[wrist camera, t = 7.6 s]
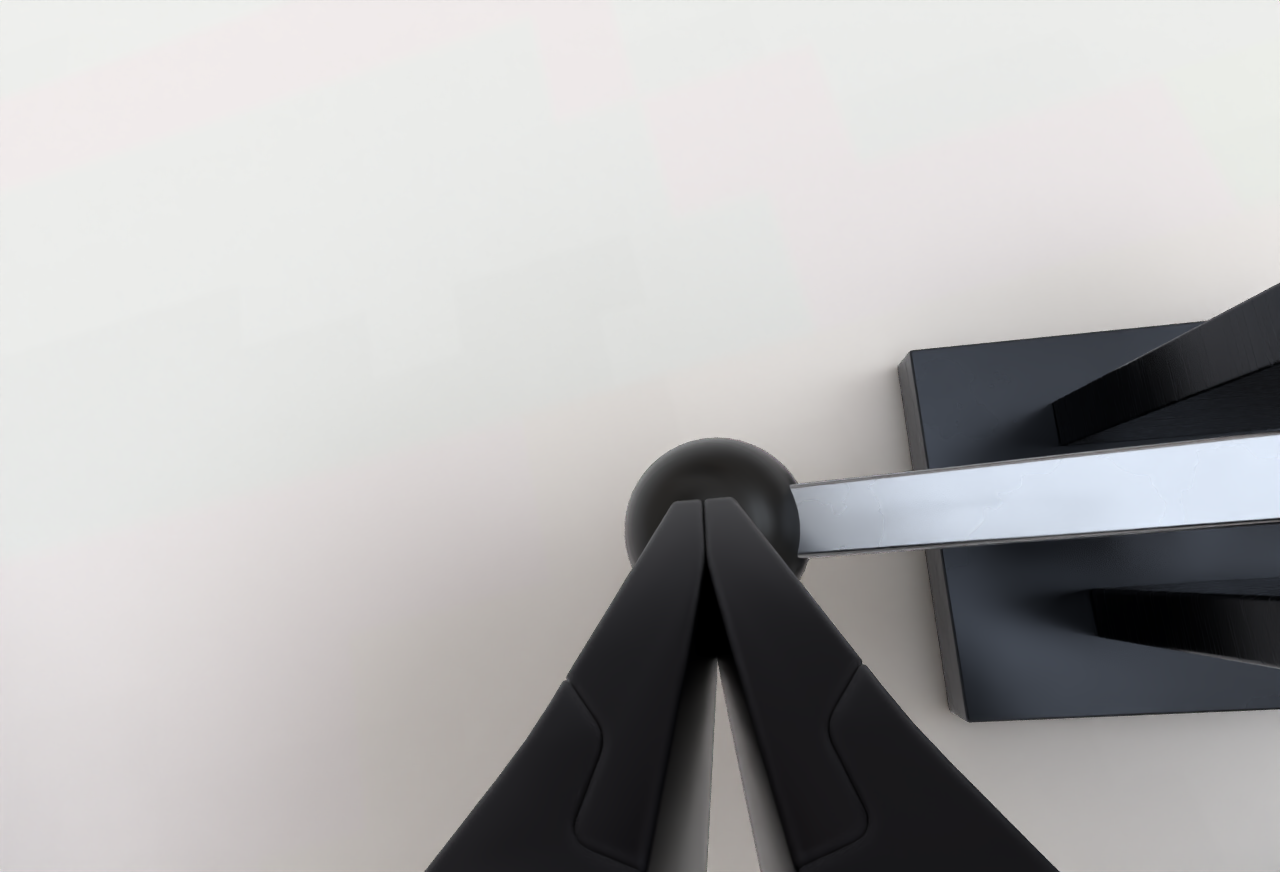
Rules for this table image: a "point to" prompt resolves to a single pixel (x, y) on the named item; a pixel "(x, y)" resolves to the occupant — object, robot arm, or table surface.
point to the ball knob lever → (971, 497)
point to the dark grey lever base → (1115, 565)
